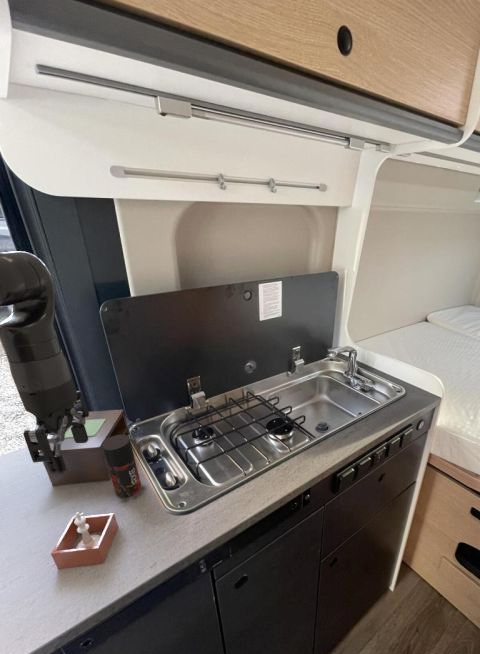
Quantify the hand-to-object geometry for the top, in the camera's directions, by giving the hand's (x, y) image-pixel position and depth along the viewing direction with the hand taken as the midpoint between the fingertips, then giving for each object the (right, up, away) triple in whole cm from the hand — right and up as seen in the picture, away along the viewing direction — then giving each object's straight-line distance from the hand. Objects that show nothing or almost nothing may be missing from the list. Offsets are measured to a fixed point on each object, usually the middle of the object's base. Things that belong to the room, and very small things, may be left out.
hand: (71, 456), depth 61 cm
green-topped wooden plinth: (-16, -10, +33) cm, 38 cm away
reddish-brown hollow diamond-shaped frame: (-2, -22, +8) cm, 23 cm away
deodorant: (-1, -15, +23) cm, 28 cm away
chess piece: (-2, -22, +8) cm, 23 cm away
